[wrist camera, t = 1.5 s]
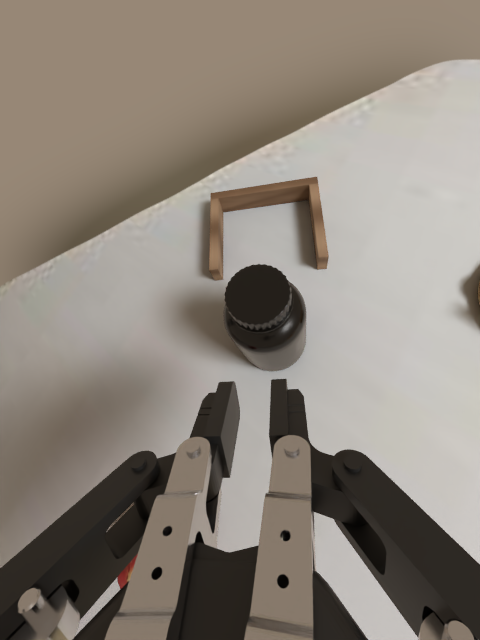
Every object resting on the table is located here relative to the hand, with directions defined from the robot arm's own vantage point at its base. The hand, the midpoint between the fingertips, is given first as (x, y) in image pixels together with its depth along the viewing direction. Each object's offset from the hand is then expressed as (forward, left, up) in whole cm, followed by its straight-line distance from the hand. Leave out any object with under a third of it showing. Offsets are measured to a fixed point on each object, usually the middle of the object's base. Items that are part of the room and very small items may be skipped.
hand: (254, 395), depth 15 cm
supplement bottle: (-4, +6, -16) cm, 18 cm away
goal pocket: (-10, +18, -16) cm, 26 cm away
